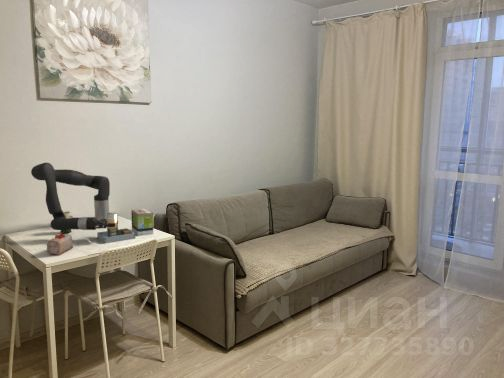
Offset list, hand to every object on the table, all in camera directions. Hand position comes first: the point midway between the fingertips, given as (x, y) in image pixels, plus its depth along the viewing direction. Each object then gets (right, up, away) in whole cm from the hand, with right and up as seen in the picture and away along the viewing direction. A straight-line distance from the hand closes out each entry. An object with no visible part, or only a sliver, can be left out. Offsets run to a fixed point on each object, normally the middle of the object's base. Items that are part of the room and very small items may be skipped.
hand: (116, 223), depth 244 cm
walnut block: (+4, -8, +6) cm, 11 cm away
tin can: (-3, -8, +1) cm, 8 cm away
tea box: (+11, -8, +17) cm, 21 cm away
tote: (-1, -10, +3) cm, 10 cm away
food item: (-23, -14, -21) cm, 34 cm away
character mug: (-37, -7, +16) cm, 41 cm away
